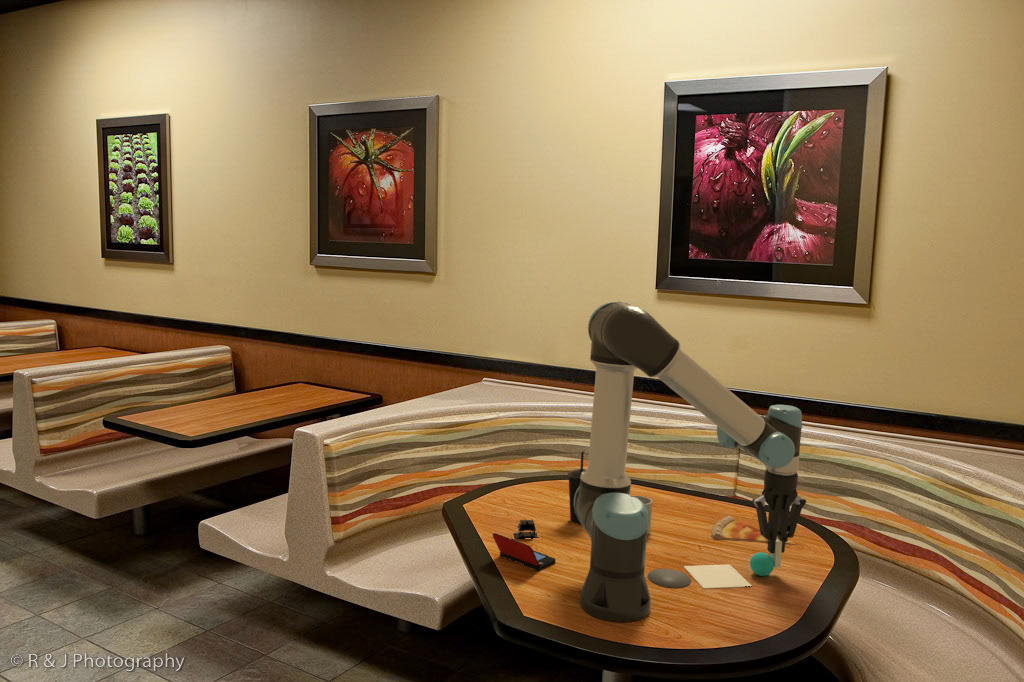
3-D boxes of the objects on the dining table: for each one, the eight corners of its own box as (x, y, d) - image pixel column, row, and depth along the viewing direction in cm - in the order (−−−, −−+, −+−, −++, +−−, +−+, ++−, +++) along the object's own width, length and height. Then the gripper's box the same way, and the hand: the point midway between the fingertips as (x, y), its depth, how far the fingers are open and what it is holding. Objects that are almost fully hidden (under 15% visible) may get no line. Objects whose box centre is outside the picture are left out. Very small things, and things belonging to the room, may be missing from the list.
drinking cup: (570, 526, 213) (574, 456, 211) (561, 517, 221) (565, 448, 218) (596, 525, 216) (600, 455, 213) (586, 515, 223) (590, 447, 220)
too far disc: (656, 588, 177) (656, 588, 177) (641, 570, 187) (641, 569, 187) (697, 587, 179) (697, 586, 179) (681, 568, 189) (681, 567, 189)
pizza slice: (763, 560, 197) (764, 552, 197) (692, 532, 214) (693, 525, 214) (797, 546, 207) (797, 539, 207) (726, 521, 224) (727, 514, 224)
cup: (645, 526, 216) (647, 495, 215) (657, 540, 206) (659, 507, 205) (620, 526, 215) (622, 495, 214) (630, 540, 205) (632, 508, 204)
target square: (703, 588, 178) (703, 588, 178) (683, 566, 190) (683, 566, 190) (752, 586, 180) (752, 585, 180) (729, 565, 192) (729, 564, 192)
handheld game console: (557, 563, 190) (559, 534, 189) (529, 577, 182) (530, 546, 181) (518, 548, 198) (520, 520, 197) (490, 561, 190) (491, 531, 189)
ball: (767, 584, 185) (751, 571, 183) (756, 574, 190) (741, 561, 189) (782, 566, 185) (767, 553, 183) (771, 557, 190) (756, 544, 189)
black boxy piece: (504, 543, 202) (505, 527, 201) (501, 533, 209) (502, 517, 208) (551, 543, 203) (552, 526, 203) (547, 532, 210) (547, 516, 210)
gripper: (798, 465, 189) (791, 557, 192) (748, 466, 187) (742, 560, 190) (815, 474, 182) (808, 570, 185) (763, 476, 179) (757, 573, 183)
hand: (774, 565), depth 187 cm, fingers closed
